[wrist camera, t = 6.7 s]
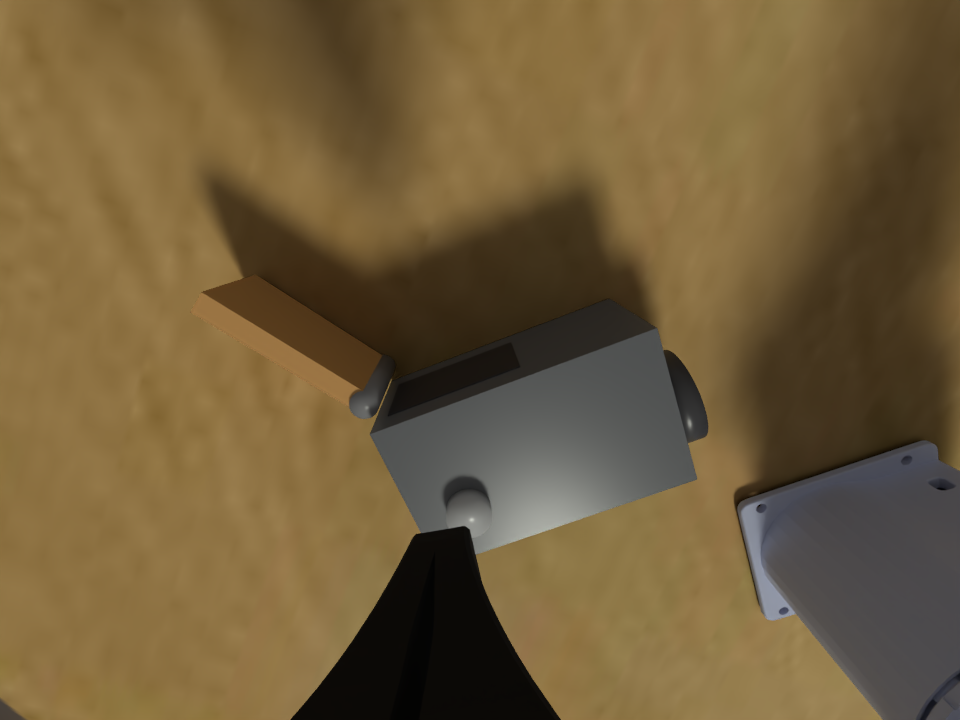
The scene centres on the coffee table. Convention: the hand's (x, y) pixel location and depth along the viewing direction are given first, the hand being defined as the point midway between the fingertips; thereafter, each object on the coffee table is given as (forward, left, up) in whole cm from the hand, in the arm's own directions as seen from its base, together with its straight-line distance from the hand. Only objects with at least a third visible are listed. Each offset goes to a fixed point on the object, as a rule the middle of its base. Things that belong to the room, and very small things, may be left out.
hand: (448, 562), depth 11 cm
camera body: (-3, +1, -10) cm, 10 cm away
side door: (+4, -5, -10) cm, 12 cm away
